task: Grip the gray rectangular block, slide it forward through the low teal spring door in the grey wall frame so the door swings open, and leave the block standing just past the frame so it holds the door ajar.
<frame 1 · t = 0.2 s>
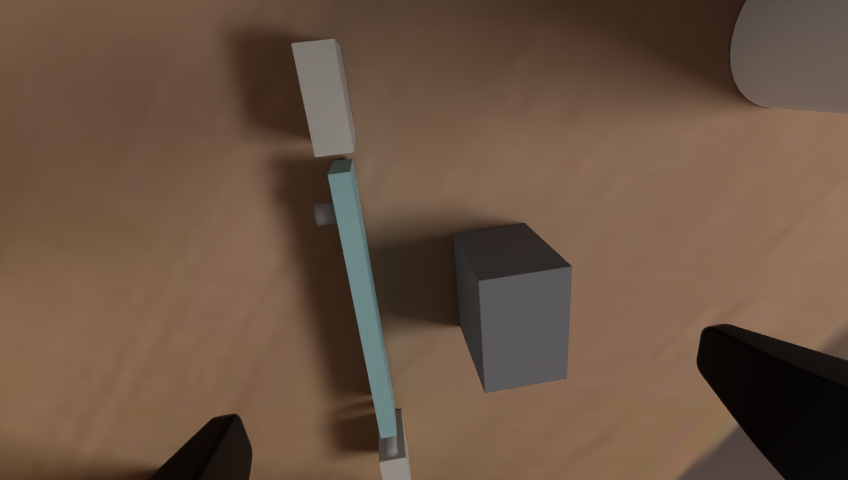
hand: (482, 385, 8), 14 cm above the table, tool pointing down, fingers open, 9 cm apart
door: (357, 310, 20), point 2 cm above the table, hinge at 0.0°
cylindrical container: (794, 32, 20), on the table
gray rectangular block: (490, 276, 23), on the table
wall: (368, 296, 22), on the table
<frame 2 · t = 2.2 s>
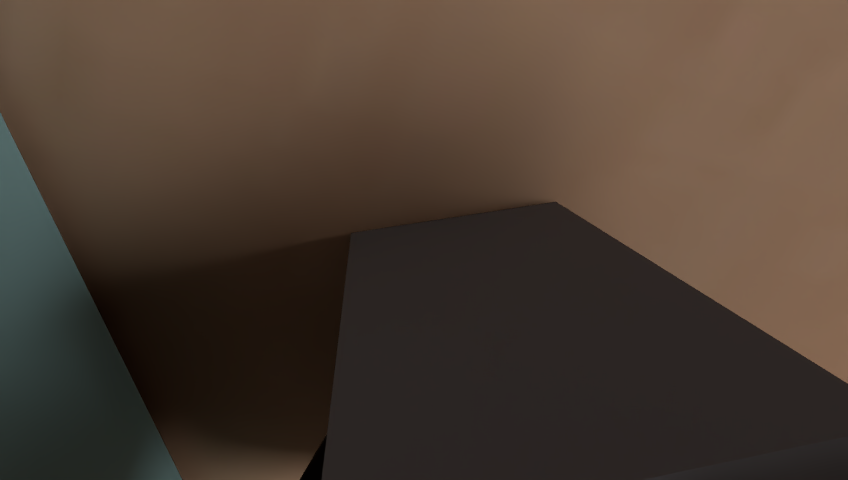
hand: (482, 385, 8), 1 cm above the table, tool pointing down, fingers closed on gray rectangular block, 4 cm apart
gray rectangular block: (466, 345, 9), on the table, touching gripper
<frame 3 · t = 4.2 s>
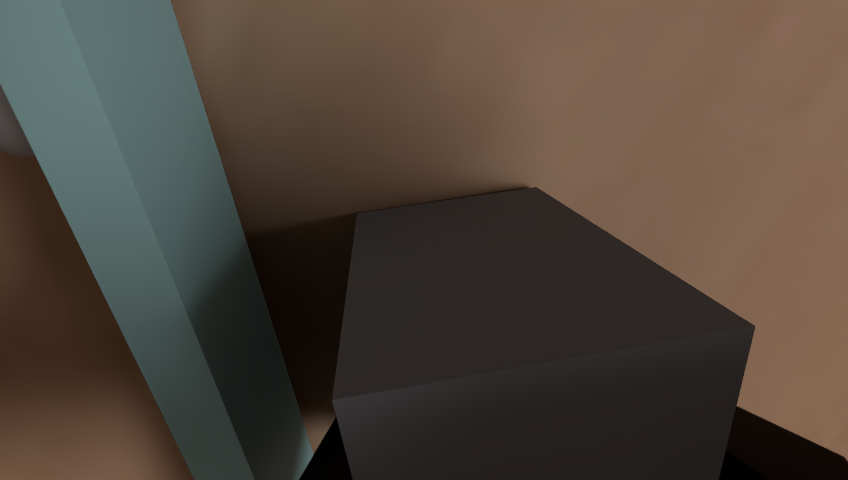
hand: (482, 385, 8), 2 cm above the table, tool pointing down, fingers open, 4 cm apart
door: (214, 398, 8), point 2 cm above the table, hinge at 0.0°
gray rectangular block: (458, 315, 10), on the table, touching gripper
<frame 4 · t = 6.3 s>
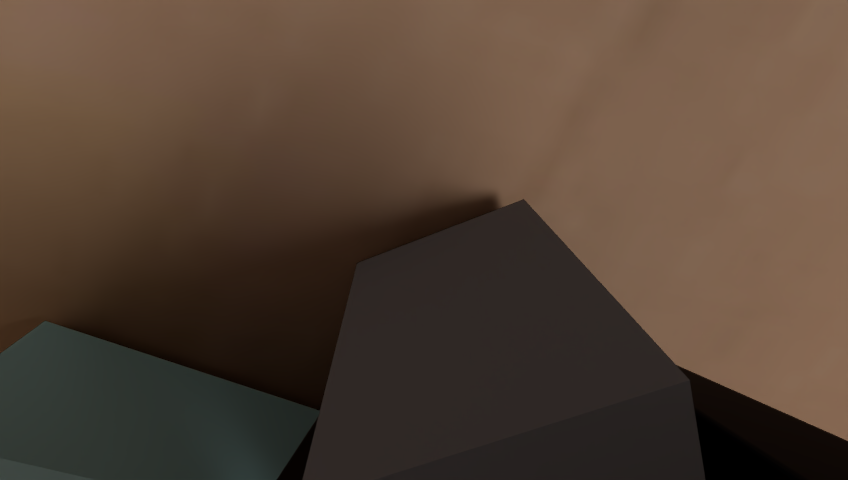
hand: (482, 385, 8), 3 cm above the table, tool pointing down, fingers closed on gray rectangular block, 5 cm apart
gray rectangular block: (480, 333, 10), on the table, tilted 6°, touching gripper
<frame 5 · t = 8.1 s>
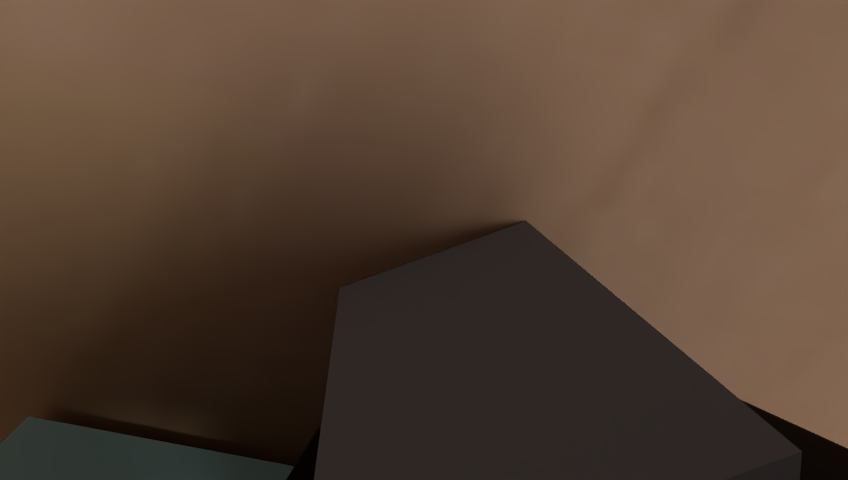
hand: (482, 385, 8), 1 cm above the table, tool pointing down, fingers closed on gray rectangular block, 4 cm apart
gray rectangular block: (472, 365, 9), on the table, touching gripper
when the fingers open (1 cm above the table, at t = 8.2 s): gray rectangular block stays where it is, on the table.
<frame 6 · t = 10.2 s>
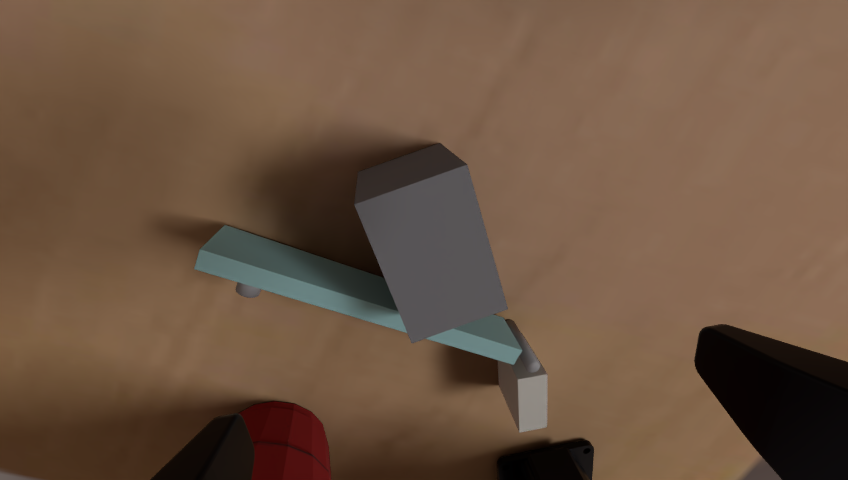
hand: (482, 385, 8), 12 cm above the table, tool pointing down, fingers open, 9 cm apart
door: (370, 306, 19), point 2 cm above the table, hinge at 59.5°
gray rectangular block: (419, 215, 19), on the table
wall: (503, 191, 19), on the table
plastic cup: (281, 436, 23), on the table
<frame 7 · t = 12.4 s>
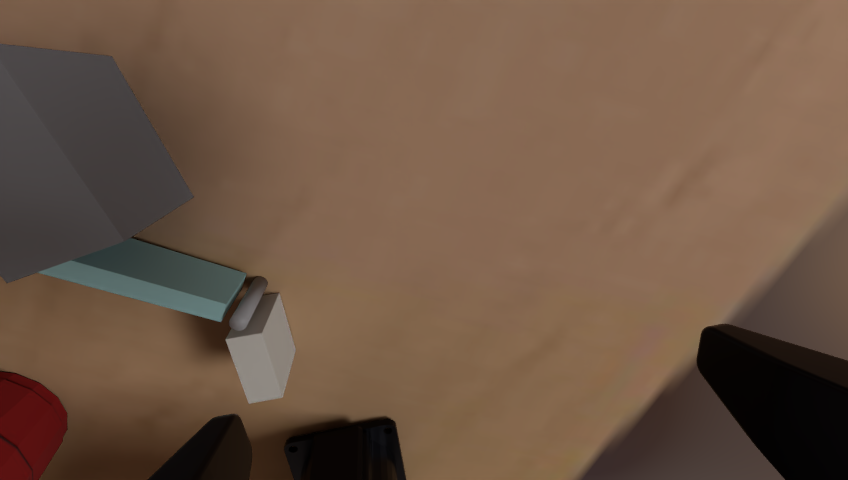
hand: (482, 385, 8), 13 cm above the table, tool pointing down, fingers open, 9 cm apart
door: (42, 251, 16), point 2 cm above the table, hinge at 59.5°
gray rectangular block: (111, 147, 17), on the table
wall: (210, 119, 17), on the table
plastic cup: (14, 412, 21), on the table
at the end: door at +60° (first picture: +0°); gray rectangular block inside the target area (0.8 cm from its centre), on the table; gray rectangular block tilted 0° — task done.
